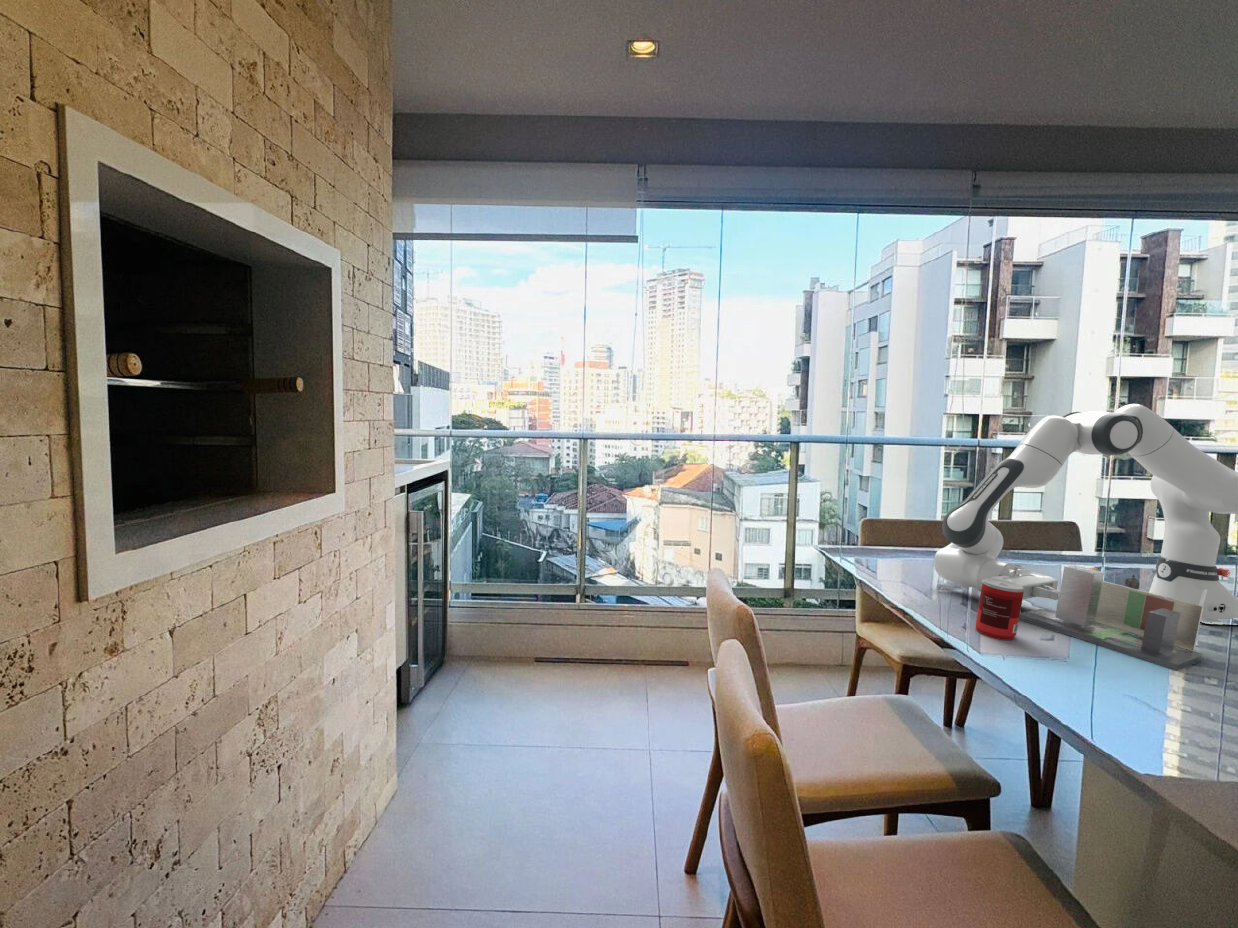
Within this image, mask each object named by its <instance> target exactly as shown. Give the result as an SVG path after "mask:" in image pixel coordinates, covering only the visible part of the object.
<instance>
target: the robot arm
mask: <svg viewBox="0 0 1238 928" xmlns="http://www.w3.org/2000/svg"><path fill="white" fill-rule="evenodd" d="M1074 452H1075V453H1079V454H1080V453H1081V454H1085V455H1106V456H1120V455H1123V454H1126V453H1128V455H1130V456H1131V457H1132V458H1133V459H1134V460H1135V461H1137V463H1138V464H1139V465H1141V466H1142V467H1143V468H1144V469H1145V470H1146V471H1147V472H1148V473H1149V474H1151V475H1152V477H1151V480H1150V489H1151V491H1152V493H1153V495H1154V496H1155V497H1156V498H1157V500H1158V502H1159V504H1160V506H1161V511H1162V514H1163V519H1164V532H1163V533H1164V534H1163V540H1162V546H1161V552H1160V555H1158V556H1157V560H1156V565H1155V570H1156V573H1155V575H1154V577H1153V579H1152V583H1151V585H1150V588H1149V591H1148V592H1149V593H1153V594H1157V595H1161V596H1165V597H1169V598H1173V599H1177V600H1181V601H1184V602H1188V603H1192V604H1196V605H1200V606H1204V608H1203V613H1202V617H1201V621H1203V622H1210V623H1212V622H1221V621H1219V620H1218V619H1232V618H1238V598H1237V597H1236V596H1235V595H1234V594H1233V593H1232V592H1231V591H1229V590H1228V589H1227V588H1226V587H1225V585H1223V584H1222V583H1221V582H1220V577H1219V576H1222V577H1224V578H1228V577H1229V576H1230V574H1231V571H1230V570H1229V569H1226V568H1223V567H1219V568H1218V567H1217V566H1216V563H1217V558H1218V554H1219V549H1220V544H1221V536H1220V534H1219V531H1217V530H1216V529H1215V528H1214V527H1213V524H1212V522H1211V521H1210V516H1209V513H1214V514H1219V515H1220V514H1222V515H1233V514H1234V515H1238V471H1237V470H1234V469H1232V468H1230V467H1228V466H1227V465H1225V464H1223V463H1222V462H1220V461H1219V460H1217V459H1216V458H1214V457H1212V456H1210V455H1208V454H1207V453H1205V452H1204V451H1202V450H1200V449H1199V448H1198V447H1196V446H1195V445H1194V444H1192V443H1191V442H1190V441H1189V440H1187V438H1185V437H1184V436H1183V435H1182V434H1181V433H1180V432H1179V431H1178V430H1176V429H1175V428H1174V427H1173V425H1171V424H1170V423H1169V422H1168V421H1167V420H1165V419H1164V418H1163V417H1161V415H1159V414H1158V413H1157V412H1155V411H1153V410H1151V409H1150V408H1148V407H1146V406H1145V405H1142V404H1139V403H1129V404H1126V405H1123V406H1120V407H1119V408H1117V409H1116V410H1115V411H1114V412H1110V411H1109V412H1108V411H1096V410H1094V411H1093V410H1092V411H1075V412H1074V411H1073V412H1069V413H1066V414H1063V415H1062V416H1060V415H1047V416H1044V417H1043V418H1042V419H1040V420H1039V421H1038V422H1037V423H1036V424H1034V426H1033V427H1032V428H1031V429H1029V431H1028V432H1027V433H1026V434H1025V436H1024V437H1022V439H1021V440H1020V442H1019V443H1018V444H1017V446H1016V447H1015V448H1014V450H1013V451H1012V452H1011V454H1010V455H1009V456H1008V457H1006V458H1005V459H1003V460H1002V461H1000V462H999V463H998V464H996V465H995V466H994V467H993V468H992V469H991V470H990V471H989V472H987V474H986V476H985V477H984V478H983V479H982V480H981V481H980V482H979V484H978V485H977V486H976V487H975V488H974V489H973V490H972V492H970V493H969V495H968V496H967V497H966V498H965V499H964V500H963V501H962V502H960V503H959V504H957V505H956V506H955V507H953V508H951V510H949V511H947V513H946V515H945V516H944V518H943V520H942V523H941V530H942V533H943V536H944V537H945V539H946V540H947V541H948V542H950V543H949V544H948V545H946V546H943V547H942V548H939V549H937V551H936V553H935V555H934V558H933V559H934V560H933V564H934V565H933V566H934V570H935V572H936V573H937V575H938V576H939V577H940V578H942V579H943V580H945V581H948V582H949V583H952V584H954V585H958V586H961V587H964V588H972V589H975V590H977V591H978V592H980V593H981V588H982V582H983V579H986V578H993V579H1000V580H1005V581H1009V582H1013V583H1016V584H1019V585H1021V586H1022V587H1024V593H1023V600H1027V599H1032V598H1043V599H1044V598H1045V599H1050V600H1054V601H1058V599H1059V593H1060V589H1058V585H1059V581H1058V580H1057V579H1056V578H1054V577H1053V576H1049V575H1046V574H1043V573H1040V572H1037V571H1034V570H1031V569H1027V568H1026V569H1025V566H1024V565H1020V564H1016V563H1010V562H1006V561H1002V560H999V559H998V557H999V556H1000V554H1001V553H1002V551H1003V548H1004V545H1005V541H1004V540H1005V538H1004V536H1003V534H1002V533H1001V531H1000V530H999V529H998V528H997V527H996V526H995V525H993V524H992V522H990V521H989V520H988V518H989V515H990V513H991V512H992V511H993V509H995V508H996V506H997V505H998V504H999V503H1000V501H1002V500H1003V498H1004V497H1005V496H1006V495H1007V494H1008V493H1009V492H1010V491H1011V490H1013V489H1015V488H1025V489H1037V488H1040V487H1043V486H1044V487H1045V486H1046V485H1047V484H1049V482H1051V481H1052V480H1053V479H1054V478H1055V477H1056V475H1057V474H1058V473H1059V472H1060V470H1061V468H1062V467H1063V466H1064V465H1065V463H1066V461H1067V459H1068V458H1069V457H1070V456H1071V454H1073V453H1074Z"/></svg>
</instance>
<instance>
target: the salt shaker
mask: <svg viewBox="0 0 1238 928" xmlns="http://www.w3.org/2000/svg"><path fill="white" fill-rule="evenodd" d="M1135 577H1136V576H1135V574H1131V577H1127V578H1125V580H1124V583H1123V586H1126V587H1129V588H1133V589H1137V590H1140V589H1139V587H1140V584H1141V583H1140V581H1139V580H1138V579H1136V578H1135Z"/></svg>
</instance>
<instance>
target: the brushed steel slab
mask: <svg viewBox="0 0 1238 928" xmlns="http://www.w3.org/2000/svg"><path fill="white" fill-rule="evenodd" d="M1098 569H1099V568H1098V567H1088V568H1087V567H1084V566H1079V565H1075V564H1072V565H1066V566H1065V565H1064V567H1063V572H1062V577H1061V583H1060V589H1059V591H1060V593H1059V599H1058V600H1057V605H1056V609H1055V611H1056V615H1055V618H1059V619H1062V620H1065V621H1068V622H1072V623H1075V624H1078V625H1081V626H1084V627H1085V626H1089V625H1093V624H1095V623H1096V622H1095V618H1096V613H1097V608H1098V603H1099V597H1100V592H1101V587H1102V581H1104V574H1105V572H1104V571H1099V570H1098Z"/></svg>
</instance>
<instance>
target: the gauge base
mask: <svg viewBox="0 0 1238 928" xmlns="http://www.w3.org/2000/svg"><path fill="white" fill-rule="evenodd" d="M1203 608H1204V606H1200V605H1196V604H1192V603H1188V602H1184V601H1181V600H1177V599H1173V598H1169V597H1165V596H1161V595H1157V594H1153V593H1149V591H1145V590H1141V589H1138V590H1137V589H1133V588H1129V587H1126V586H1124V585H1122V584H1121V585H1120V584H1117V583H1114V582H1109V581H1106V580H1103V581H1102V587H1101V592H1100V597H1099V603H1098V608H1097V613H1096V618H1095V624H1093V625H1089V626H1085V627H1084V626H1081V625H1078V624H1075V623H1072V622H1068V621H1065V620H1062V619H1059V618H1055V615H1056V610H1055V609H1054V610H1053V609H1051V608H1047V607H1044V608H1039V609H1033V610H1028V611H1023V612H1020V616H1019V621H1020V620H1021V621H1023V622H1027V623H1029V624H1032V625H1036V626H1038V627H1041V628H1045V629H1047V630H1051V631H1054V632H1057V633H1059V634H1063V635H1067V636H1070V637H1072V638H1074V639H1075V638H1076V639H1078V640H1081V641H1085V642H1086V643H1087V642H1088V643H1091V644H1093V645H1097V646H1100V647H1103V648H1105V649H1108V650H1112V651H1115V652H1119V653H1122V654H1125V655H1128V656H1131V657H1134V658H1137V659H1140V660H1142V661H1146V662H1149V663H1152V664H1155V665H1159V666H1160V667H1165V668H1168V669H1170V670H1173V671H1179V670H1182V669H1184V668H1187V667H1189V666H1191V665H1195V664H1196V663H1199V662H1201V661H1202V659H1203V654H1199V653H1195V651H1196V644H1197V641H1198V637H1199V631H1200V626H1201V623H1200V622H1201V617H1202V613H1203ZM1186 649H1187V650H1186Z"/></svg>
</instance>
